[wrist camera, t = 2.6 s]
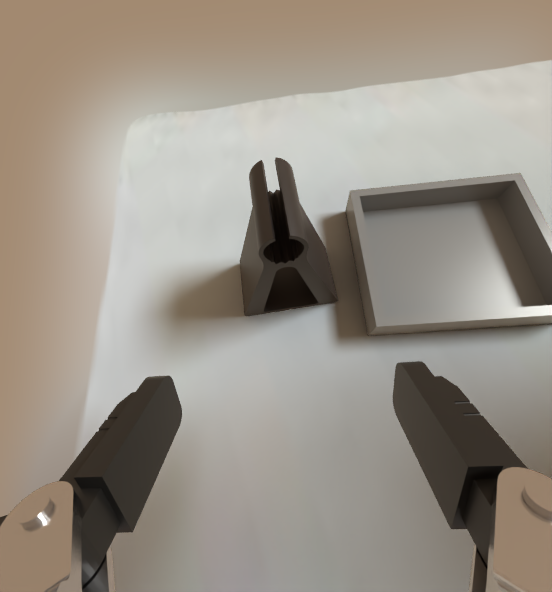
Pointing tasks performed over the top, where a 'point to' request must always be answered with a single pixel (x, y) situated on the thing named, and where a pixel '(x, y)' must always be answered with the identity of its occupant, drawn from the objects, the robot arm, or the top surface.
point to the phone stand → (282, 250)
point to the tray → (451, 255)
